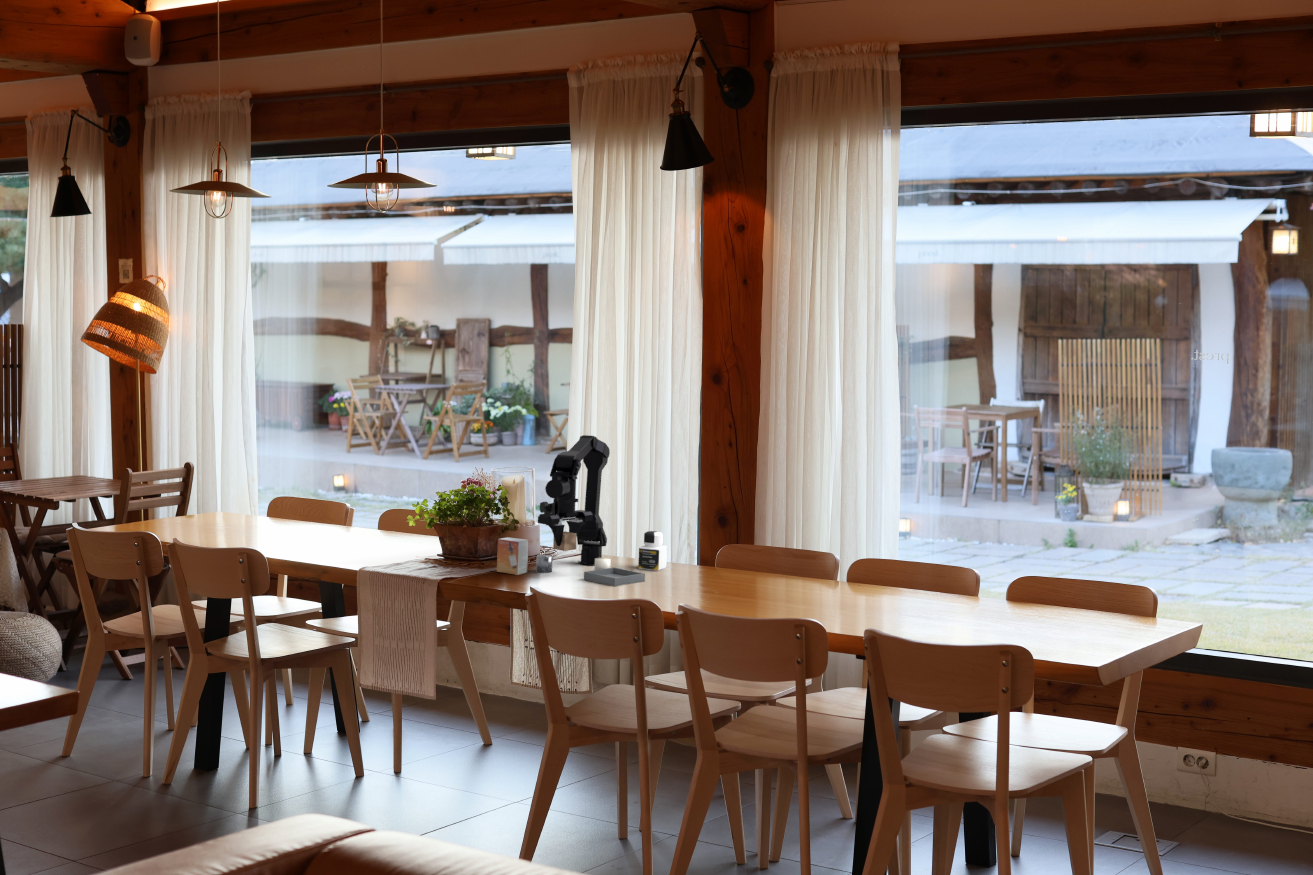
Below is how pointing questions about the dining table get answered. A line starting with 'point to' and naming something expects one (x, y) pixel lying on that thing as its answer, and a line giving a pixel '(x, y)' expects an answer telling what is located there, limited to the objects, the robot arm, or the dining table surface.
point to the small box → (512, 555)
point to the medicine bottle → (652, 552)
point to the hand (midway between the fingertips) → (564, 545)
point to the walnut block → (566, 542)
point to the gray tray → (614, 576)
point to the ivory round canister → (602, 563)
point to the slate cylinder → (544, 563)
